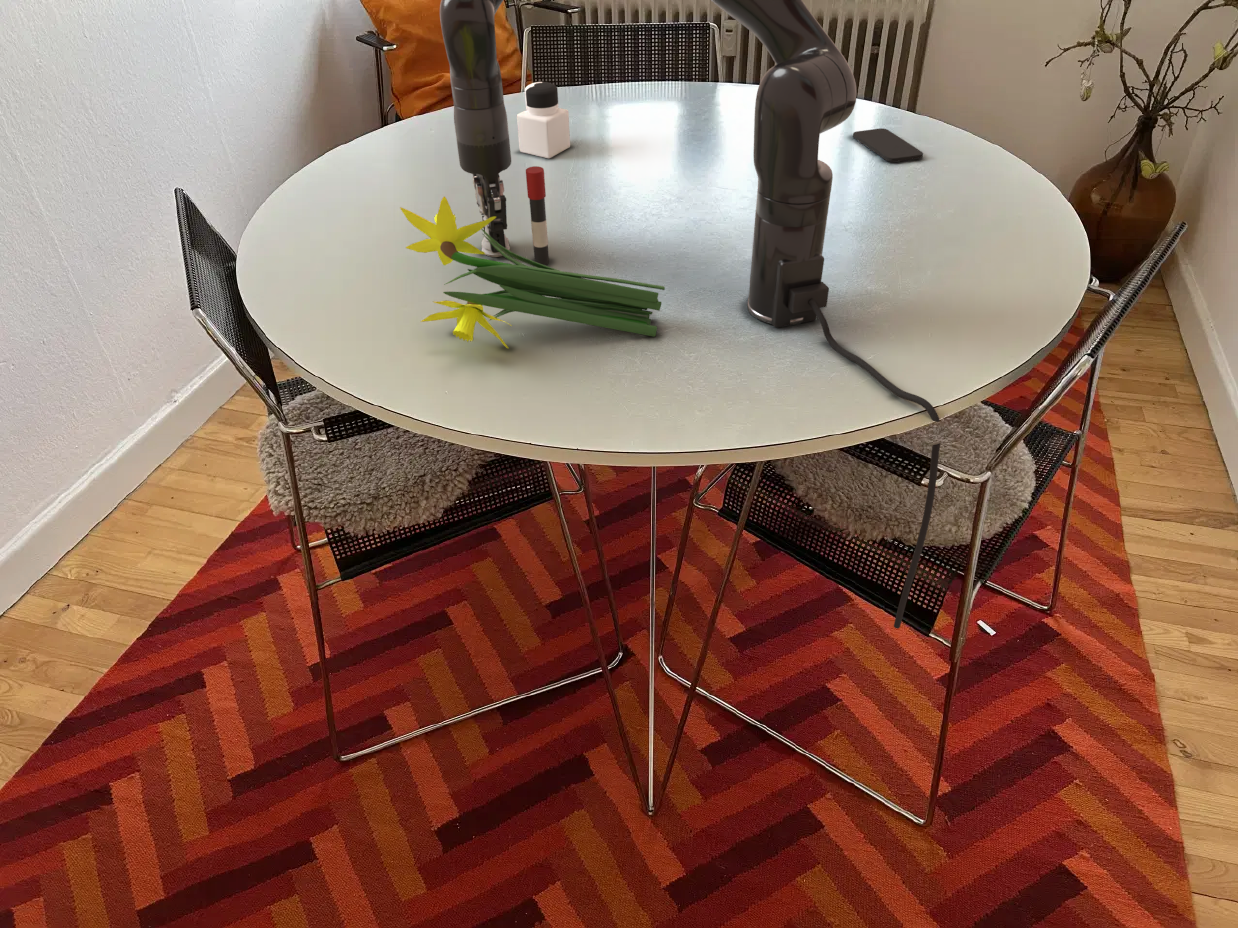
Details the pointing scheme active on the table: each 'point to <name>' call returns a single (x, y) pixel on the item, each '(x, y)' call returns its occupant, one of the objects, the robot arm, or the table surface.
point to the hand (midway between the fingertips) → (495, 243)
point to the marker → (538, 213)
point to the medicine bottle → (543, 122)
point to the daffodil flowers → (529, 285)
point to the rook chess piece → (486, 243)
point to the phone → (887, 145)
